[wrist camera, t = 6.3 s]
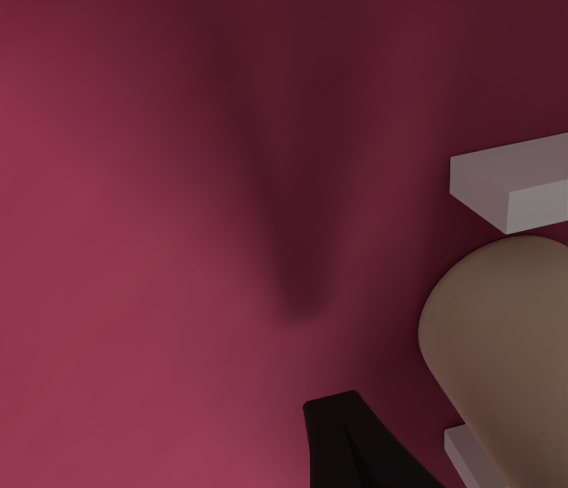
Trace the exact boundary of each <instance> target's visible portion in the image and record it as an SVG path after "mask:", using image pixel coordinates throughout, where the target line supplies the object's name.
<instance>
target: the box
mask: <svg viewBox="0 0 568 488" xmlns="http://www.w3.org/2000/svg"><path fill="white" fill-rule="evenodd" d="M450 194H451V195H453V196H454V197H455V198H457V199H458V200H459V201H461V202H462V203H463V204H465V205H466V206H468V207H469V208H470V209H472V210H473V211H474V212H476V213H477V214H478V215H480V216H481V217H483V218H484V219H485V220H487V221H488V222H489V223H491V224H492V225H493V226H495V227H496V228H498V229H499V230H500V231H502V232H503V233H504V234H511V233H515V232H519V231H524V230H528V229H532V228H537V227H541V226H546V225H550V224H554V223H559V222H563V221H567V220H568V132H567V133H562V134H558V135H553V136H548V137H543V138H539V139H534V140H529V141H524V142H520V143H515V144H510V145H505V146H501V147H496V148H491V149H486V150H481V151H477V152H472V153H467V154H462V155H458V156H453V157H450ZM444 450H445V451H446V453H447V455H448V456H449V458H450V460H451V461H452V463H453V465H454V467H455V468H456V470H457V472H458V473H459V475H460V477H461V478H462V480H463V482H464V484H465V485H466V487H467V488H509V486H508V485H507V484H506V482H505V481H504V479H503V478H502V476H501V475H500V473H499V472H498V470H497V469H496V467H495V466H494V464H493V463H492V461H491V460H490V459H489V457H488V456H487V454H486V453H485V451H484V450H483V448H482V447H481V445H480V444H479V442H478V441H477V439H476V438H475V436H474V435H473V433H472V432H471V431H470V429H469V428H468V426H467V425H466V424H464V425H460V426H457V427H453V428H449V429H446V430H445V433H444Z"/></svg>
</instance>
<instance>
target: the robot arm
mask: <svg viewBox="0 0 568 488" xmlns="http://www.w3.org/2000/svg"><path fill="white" fill-rule="evenodd" d="M303 411H304V417H305V424H306V430H307V437H308V443H309V449H310V488H446V487H444V486H443V485H442V484H441V483H440V482H439V481H438V480H437V479H436V478H435V477H434V476H433V475H432V474H431V473H429V472H428V471H427V470H426V469H425V468H424V467H423V466H422V465H421V464H420V463H419V462H418V461H417V460H416V459H415V458H414V457H413V456H412V455H411V454H410V453H409V452H408V450H407V449H406V448H405V447H404V446H403V445H402V444H401V443H400V442H399V441H398V440H397V439H396V438H395V437H394V436H393V435H392V433H391V432H390V431H389V430H388V429H387V428H386V427H385V426H384V424H383V423H382V422H381V421H380V420H379V419H378V417H377V416H376V415H375V414H374V413H373V411H372V410H371V409H370V408H369V406H368V405H367V404H366V402H365V401H364V400H363V399H362V397H361V396H360V394H359V393H358V392H357V391H355V390H351V391H347V392H343V393H339V394H335V395H331V396H327V397H323V398H319V399H315V400H311V401H307V402H306V403H305V404H304V405H303Z"/></svg>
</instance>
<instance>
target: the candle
mask: <svg viewBox="0 0 568 488" xmlns="http://www.w3.org/2000/svg"><path fill="white" fill-rule="evenodd" d="M418 341H419V346H420V350H421V352H422V355H423V357H424V360H425V362H426V364H427V366H428V367H429V369H430V371H431V372H432V374H433V375H434V377H435V378H436V380H437V382H438V383H439V385H440V386H441V388H442V389H443V391H444V392H445V394H446V395H447V397H448V398H449V400H450V401H451V403H452V404H453V406H454V407H455V408H456V410H457V411H458V413H459V414H460V416H461V417H462V419H463V420H464V422H465V423H466V425H467V426H468V428H469V429H470V431H471V432H472V433H473V435H474V436H475V438H476V439H477V441H478V442H479V444H480V445H481V447H482V448H483V450H484V451H485V453H486V454H487V456H488V457H489V459H490V460H491V461H492V463H493V464H494V466H495V467H496V469H497V470H498V472H499V473H500V475H501V476H502V478H503V479H504V481H505V482H506V484H507V485H508V486H509V488H568V247H567V246H565V245H563V244H562V243H559V242H557V241H554V240H551V239H548V238H545V237H540V236H534V235H521V236H513V237H508V238H504V239H500V240H497V241H495V242H492V243H489V244H487V245H485V246H483V247H481V248H479V249H477V250H475V251H474V252H472V253H470V254H469V255H467V256H466V257H464V258H463V259H462V260H460V261H459V262H458V263H456V264H455V265H454V266H453V267H452V268H451V269H450V270H449V271H448V272H447V273H446V274H445V275H444V276H443V277H442V278H441V280H440V281H439V282H438V283H437V285H436V286H435V288H434V289H433V290H432V292H431V294H430V295H429V297H428V299H427V301H426V303H425V305H424V308H423V310H422V313H421V317H420V321H419V327H418Z"/></svg>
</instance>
